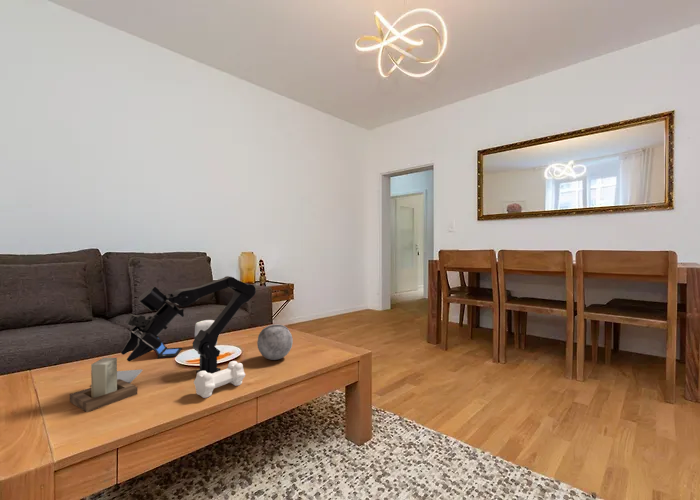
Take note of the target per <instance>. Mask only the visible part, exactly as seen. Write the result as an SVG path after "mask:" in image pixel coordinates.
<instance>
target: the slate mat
mask: <svg viewBox="0 0 700 500" xmlns="http://www.w3.org/2000/svg"><path fill="white" fill-rule="evenodd" d="M142 372H143V369H141V368H140V369H131V370H129V369H128V370H117V380H118V379H121V380H123V381H125V382H128V383H130V384H132V382H133V381H134V380H135V379H136V378H137V377H138V376H139V375H140V374H141V373H142Z"/></svg>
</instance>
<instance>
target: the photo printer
mask: <svg viewBox="0 0 700 500" xmlns="http://www.w3.org/2000/svg"><path fill="white" fill-rule="evenodd" d="M214 321H215V320H213V319H205V320H201V321H198V322H195V325H194V337H196V336H197V335H198V333H199V331H200V330H203V331H205V330H207V329H208V328H209V327H210V326H211V325H212V324H213V322H214ZM216 345H218V342H217V343H216ZM216 345H215V346H216Z"/></svg>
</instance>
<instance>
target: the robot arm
mask: <svg viewBox="0 0 700 500" xmlns="http://www.w3.org/2000/svg"><path fill="white" fill-rule="evenodd" d="M228 288H229V289H231V290H232V291H233V294H232V297H231V299H230V301H229V302H228V303H227V305H226V306H225V307H224V308H223V310H222V311H221V312H220V314H219V315H218V316H217V317H216V319H215V320H214V322H213V324H212V325H211V326H210V327H209V328H208V329H207V330H205V331H203V330H200V331H199V333H198V335H197V336H196V337H195V336H193V341H192V348H193V349H194V351H196V352H197V354H198V355H199V369H197V370H196V372H197V373H198V372H200V371H206V372H208V373H211V374H212V373H215V372H218V371H221V368H220V367H218V358H219V356H220V355H221V354H220V353H221V351H220V350H219V349H218V348H217V347H216V343H217V344H218V339H219V336H220V334H221V333H222V332H223V330H224V329H225V328H226V326H227V325H228V324H229V323H230V321H231V319H233V317H234V316H235V314H237V312H238V311H239V310H240V309H241V306H243V305H244V304H246V303H247V302H249V301H250V300H251V299H253V298H254V297H255V295H256V294H257V292H256V291H257V290H256V287H255V285H253V284H251V283H247V282H243V281H241V280H239V279H236V278H235V277H234V276H229V275H226V276H224V277H222V278H218V279H217V280H213V281H210V282H207V283H205V284H202V285H201V284H200V285H199V286H196V287H187V288H186V287H185V288H179V289H176V290H174V291H173V293H168V294H165V293H163V292H161V291H160V290H159V288H158V287H156V286H152V287H151V288H149V289H148V290H146V291H144V292H143V293H142V294H141V295H140V296H139V297H138V300H137V301H138V303H140V304H142V306H144V307H145V308H147V309H148V310H149V311H150V312H154V311H156V312H155V313H154V314H153V315H149V316H148V317H146V316H145V315H142V314H138V315H136V314H132V313H130V314H129V315H128V318H127V319H126V321H125V323H126V324H127V325H128V326H131V327H129V333H128V334H129V338H128V340H127V342H126V343H125V345H124V347H123V348H122V349H121V351H120V354H121V355H125V354H128V353H129V352H130V354H129V355H128V356H127V358H126V361H127V362H132V361H134V360H136V359H137V358H140V357H141V356H144V355H146V354H148V353H150V352H152V351H153V352H154V350H155V349H154V348H156V349H158V348H159V347H160V346H161V341H162V339H161V340H159V339H158V337H159V335H160V334H161V333H162V331H163V330H167V329H168V325H169V324H171V323H172V321H173V320H174V319H175V317H177V316H179V317H184V316H185V314H184V311H185V309H184V307H188V306H190V305H192V304H193V303H195V302H197V301H199V299H201V298H203V297H205V296H209V295H210V294H211V295H212V294H214V293H217V292H219V291H222V290H225V289H228ZM168 302H169V303H171V304H169V303H168ZM176 305H178V306H180V307H183V308H180V307H178V306H176ZM153 347H154V348H153Z"/></svg>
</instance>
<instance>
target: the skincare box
mask: <svg viewBox="0 0 700 500" xmlns="http://www.w3.org/2000/svg"><path fill="white" fill-rule="evenodd" d="M90 369H91V370H90V374H91V375H90V376H91V384H90V388H91V398H96V397H99V396H102V395H105V394H108V393H111V392H114V391H117V371H118V357H102V358H100V359H98V360H97V361H96V362H93V363H91V365H90Z"/></svg>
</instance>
